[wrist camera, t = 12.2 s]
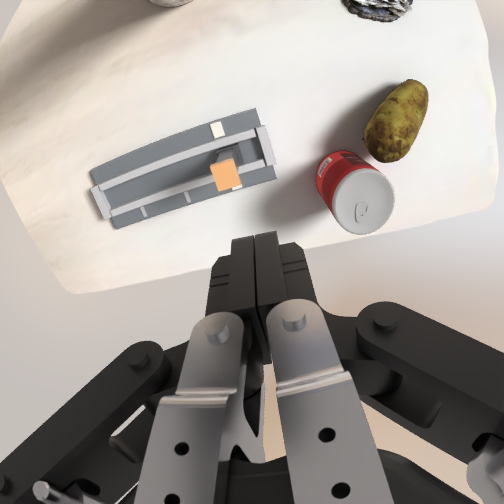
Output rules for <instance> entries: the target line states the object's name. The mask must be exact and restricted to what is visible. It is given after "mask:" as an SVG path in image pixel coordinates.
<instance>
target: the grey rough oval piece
mask: <svg viewBox="0 0 504 504" xmlns="http://www.w3.org/2000/svg"><path fill="white" fill-rule="evenodd" d="M342 2H343V3H344V5H345V6H346V7H347V8H348V11H350V13H352V14H358V15H359V16H360V17H361V18H364V19H371V20H373V21H376V20H378V21H381V22H392V21H394V20H397V19H398V18H400V17H401V16H403V15H405V14H406V12H410V11H411V10H412V7H411V6H410V5H411V4H412V2H413V0H342Z"/></svg>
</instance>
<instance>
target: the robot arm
mask: <svg viewBox="0 0 504 504" xmlns="http://www.w3.org/2000/svg"><path fill="white" fill-rule="evenodd" d="M149 1H150V2H152V3H154V4H156V5H159V6H162V7H175V6H180V5H184V4H186V3H188V2H190V1H192V0H149ZM209 286H210V288H209V292H208V299H207V306H206V313H205V317H204V318H203V319H201V320H200V321H199V322H198V323H197V324H196V325H195V326H194V328H193V330H192V332H191V336H190V340H188V341H187V342H185V343H183V344H180V345H178V346H175V347H172V348H170V349H167V350H165V351H163V349H162V348H161V346H160V345H159V344H157V343H155V342H152V341H142V342H138V343H135V344H133V345H131V346H130V347H128V348H127V349H126V350H124V352H122V353H121V354H120V355H119V356H118V357H117V358H116V359H114V360H113V361H112V362H111V363H110V364H109V365H108V366H107V367H105V368H104V369H103V370H102V371H101V372H100V373H99V374H98V375H97V376H95V377H94V378H93V379H92V380H91V381H90V382H89V383H88V384H86V385H85V386H84V387H83V388H82V389H81V390H80V391H79V392H78V393H76V395H74V396H73V397H72V398H71V399H70V400H69V401H68V402H67V403H65V405H64V406H62V407H61V408H60V409H59V410H58V411H57V412H56V413H55V414H53V415H52V416H51V417H50V418H49V419H48V420H47V421H46V422H45V423H43V425H41V426H40V427H39V428H38V429H37V430H36V431H35V432H33V434H31V435H30V436H29V437H28V438H27V439H26V440H25V441H24V442H23V443H21V444H20V445H19V446H18V447H17V448H16V449H15V450H14V451H13V452H12V453H11V454H10V455H8V456H7V457H6V458H5V459H4V460H3V461H2V462H1V463H0V504H114V503H115V502H117V501H118V500H119V499H120V498H121V497H122V496H123V495H124V494H125V493H126V492H127V491H128V490H129V489H131V488H132V487H133V486H134V485H135V484H136V483H137V482H138V481H139V483H138V484H137V485H136V486H135V487H134V488H133V489H132V490H131V491H130V492H129V493H128V494H127V495H126V496H125V497H124V498H123V499H122V500H121V501H120V502H119V503H118V504H478V503H477V502H475V501H474V500H472V499H470V498H468V497H467V496H465V495H463V494H462V493H460V492H458V491H457V490H455V489H454V488H452V487H451V486H449V485H447V484H446V483H444V482H443V481H441V480H440V479H438V478H436V477H435V476H433V475H432V474H430V473H429V472H427V471H426V470H424V469H422V468H421V467H420V466H418V465H417V464H415V463H414V462H412V461H410V460H409V459H407V458H405V457H403V456H401V455H399V454H396V453H393V452H390V451H386V450H382V449H377V448H376V445H375V442H374V439H373V436H372V433H371V430H370V427H369V424H368V421H367V418H366V416H365V413H364V410H363V407H362V404H361V401H363V402H364V403H366V404H367V405H369V406H371V407H372V408H373V409H375V410H376V411H378V412H380V413H381V414H383V415H384V416H386V417H388V418H389V419H391V420H392V421H394V422H396V423H397V424H399V425H400V426H402V427H404V428H405V429H407V430H409V431H410V432H412V433H414V434H415V435H417V436H419V437H420V438H422V439H424V440H426V441H427V442H429V443H431V444H432V445H434V446H436V447H437V448H439V449H441V450H442V451H444V452H446V453H448V454H450V455H451V456H453V457H455V458H457V459H458V460H460V461H462V462H464V463H466V464H467V465H468V467H467V482H468V485H469V486H470V488H471V489H472V491H474V492H475V493H476V494H477V495H479V497H480V498H481V499H482V501H483V503H484V504H504V353H502V352H500V351H498V350H496V349H494V348H492V347H490V346H488V345H486V344H484V343H481V342H479V341H477V340H475V339H473V338H471V337H469V336H467V335H464V334H462V333H460V332H458V331H456V330H454V329H451V328H449V327H447V326H445V325H443V324H441V323H439V322H437V321H434V320H432V319H430V318H428V317H426V316H424V315H422V314H419V313H417V312H415V311H413V310H411V309H408V308H406V307H404V306H402V305H400V304H397V303H394V302H377V303H373V304H371V305H368V306H367V307H365V308H364V309H363V310H362V311H361V312H360V313H359V315H358V316H357V317H343V316H336V315H332V314H330V313H328V312H326V311H325V310H323V309H322V308H321V307H320V306H319V304H318V302H317V299H316V296H315V292H314V288H313V284H312V280H311V277H310V273H309V269H308V265H307V262H306V258H305V254H304V251H303V249H302V248H301V247H300V246H299V245H297V244H296V243H295V242H292V243H287V244H282V245H279V242H278V237H277V232H276V231H272V232H267V233H262V234H257V235H255V238H254V236H253V235H252V236H248V237H243V238H238V239H233V240H232V243H231V255H227V256H222V257H219V258H218V260H217V261H216V262H215V264H214V265H213V267H212V271H211V280H210V285H209ZM271 354H272V357H271ZM272 360H273V366H274V372H275V377H276V383H277V388H276V395H277V402H278V408H279V414H280V419H281V425H282V432H283V437H284V443H285V449H286V456H283V457H280V458H278V459H275V460H272V461H269V462H265V453H264V448H263V425H264V404H265V384H264V381H263V380H264V371H263V365H265V364H272ZM360 400H361V401H360ZM142 405H144V406H145V409H144V410H143V411H142V412H141V413H140V414H139V415H138V416H137V417H136V418H135V419H134V420H133V421H132V422H131V423H130V424H129V425H128V426H127V427H126V428H124V429H123V430H122V431H121V432H120V433H119V434H118V435H116V436H111V435H112V433H113V432H114V431H115V430H116V429H117V428H118V427H119V426H121V424H123V423H124V422H125V421H126V420H127V419H128V418H129V417H130V416H131V415H132V414H133V413H134V412H135V411H136V410H137V409H138V408H139V407H140V406H142Z"/></svg>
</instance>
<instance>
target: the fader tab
mask: <svg viewBox="0 0 504 504" xmlns="http://www.w3.org/2000/svg"><path fill="white" fill-rule="evenodd" d="M215 152H216V155H217V157H218V159H217V161H216V163H215V164H211V166H210V169H211V172H212V174H213V177H214V180H215V183H216V186H217V189H218V191H223V190H226V189H229V188H233V187H236V186H239V185H241V181H240V178H239V175H238V168H239V164H243V163H244V160H243V156H242V153H241V150H240V147H239V144H238V143H236V144H233V145H229V146H226V147H223V148H220V149H217V150H216V151H215Z"/></svg>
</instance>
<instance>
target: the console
mask: <svg viewBox="0 0 504 504" xmlns="http://www.w3.org/2000/svg"><path fill="white" fill-rule="evenodd" d="M236 143H238V144H239V147H240V150H241V153H242V156H243V160H244V163H243V164H239V168H238V175H239V178H240V181H241V185H239V186H236V187H233V188H229V189H226V190H223V191H218V189H217V186H216V183H215V180H214V177H213V174H212V172H211V169H210V166H211V164H215V163H216V161H217V159H218V157H217V155H216V152H215V151H216V150H217V149H220V148H223V147H226V146H229V145H233V144H236ZM273 164H276V160H275V157H274V153H273V150H272V147H271V143H270V140H269V137H268V133H267V130H266V127H265V125H263V126H261V124H260V121H259V117H258V114H257V111H256V108H254V109H251V110H247V111H244V112H241V113H237V114H234V115H231V116H227V117H224V118H221V119H218V120H215V121H212V122H209V123H206V124H203V125H200V126H197V127H194V128H191V129H188V130H186V131H183V132H180V133H177V134H175V135H172V136H169V137H167V138H164V139H161V140H159V141H156V142H154V143H151V144H149V145H146V146H144V147H141V148H139V149H136V150H134V151H132V152H129V153H127V154H125V155H122V156H120V157H118V158H115V159H113V160H111V161H109V162H106V163H104V164H102V165H100V166H98V167H96V168H93V169H92V170H90V171H91V174H92V176H93V178H94V181H95V183H96V185H95V186H93V187H92V188H91V191H92V194H93V196H94V198H95V200H96V202H97V204H98V207H99V209H100V211H101V213H102V215H103V217H104V219H105V220H106V219H108V218H112V220H113V222H114V225H115V227H116V229H119V228H122V227H125V226H128V225H130V224H133V223H136V222H139V221H142V220H145V219H148V218H151V217H154V216H157V215H160V214H163V213H166V212H169V211H172V210H175V209H178V208H181V207H184V206H187V205H190V204H193V203H196V202H200V201H203V200H206V199H209V198H213V197H216V196H219V195H222V194H226V193H229V192H232V191H236V190H239V189H243V188H246V187H249V186H253V185H256V184H260V183H263V182H267V181H271V180H274V179H277V178H276V174H275V171H274V168H273Z"/></svg>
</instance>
